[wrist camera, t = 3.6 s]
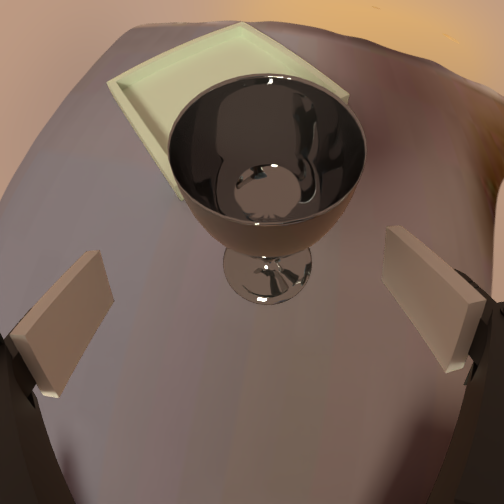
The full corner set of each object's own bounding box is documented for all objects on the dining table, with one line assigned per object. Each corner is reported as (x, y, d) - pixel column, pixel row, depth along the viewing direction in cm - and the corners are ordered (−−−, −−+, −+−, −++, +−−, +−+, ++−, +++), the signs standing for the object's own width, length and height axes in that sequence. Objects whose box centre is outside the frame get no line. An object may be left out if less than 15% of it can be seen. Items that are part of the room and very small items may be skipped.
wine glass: (316, 218, 27) (352, 78, 13) (317, 311, 24) (380, 228, 10) (222, 215, 28) (186, 75, 14) (213, 307, 25) (148, 221, 11)
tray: (243, 35, 38) (242, 21, 36) (345, 110, 32) (349, 94, 29) (112, 96, 35) (106, 82, 32) (181, 201, 28) (174, 186, 26)
